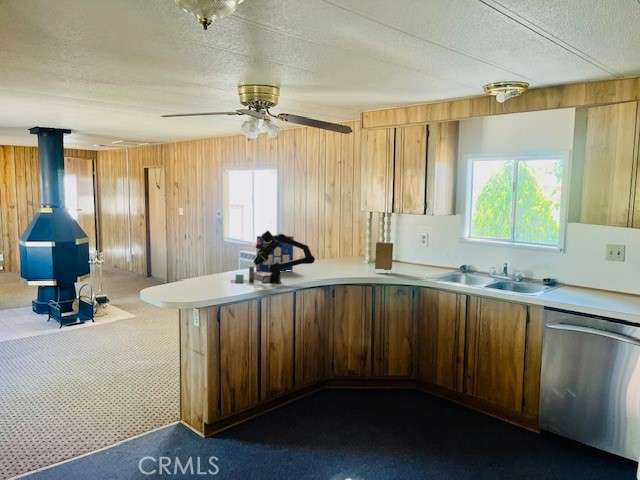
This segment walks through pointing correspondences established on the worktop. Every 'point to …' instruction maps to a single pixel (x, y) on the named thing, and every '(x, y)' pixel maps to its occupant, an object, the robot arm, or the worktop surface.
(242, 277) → the teal block
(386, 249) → the food packaging
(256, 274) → the candy bar box
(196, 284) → the worktop surface
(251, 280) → the walnut strip
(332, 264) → the worktop surface
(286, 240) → the robot arm
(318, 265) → the worktop surface
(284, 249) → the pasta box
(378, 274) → the worktop surface
